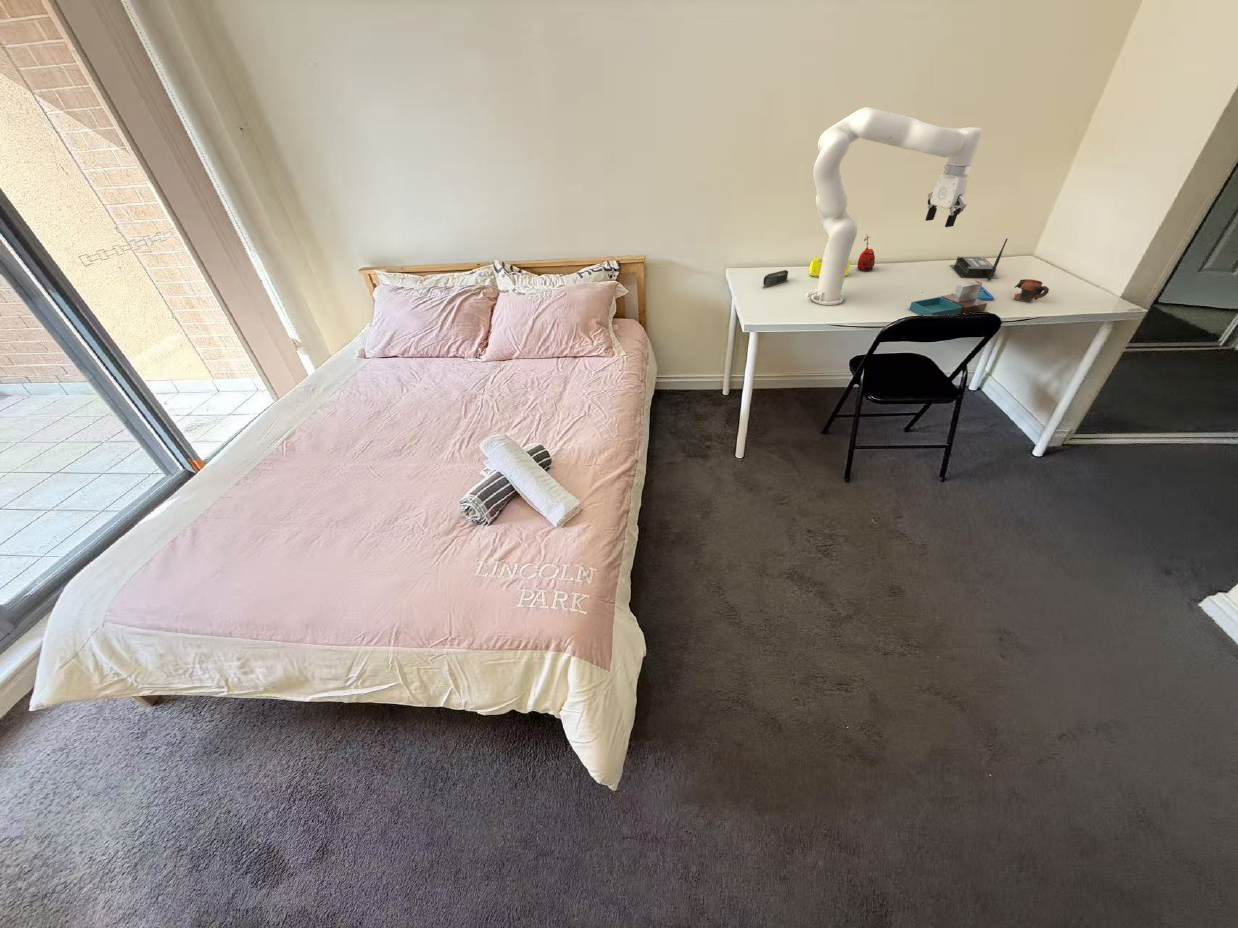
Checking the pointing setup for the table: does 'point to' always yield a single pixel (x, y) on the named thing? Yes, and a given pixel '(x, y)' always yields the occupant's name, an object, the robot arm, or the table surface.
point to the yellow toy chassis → (816, 267)
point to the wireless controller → (976, 266)
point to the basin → (935, 307)
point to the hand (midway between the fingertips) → (938, 223)
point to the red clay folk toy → (866, 259)
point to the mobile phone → (775, 278)
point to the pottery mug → (1030, 290)
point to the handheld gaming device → (984, 294)
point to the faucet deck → (968, 304)
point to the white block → (967, 291)
